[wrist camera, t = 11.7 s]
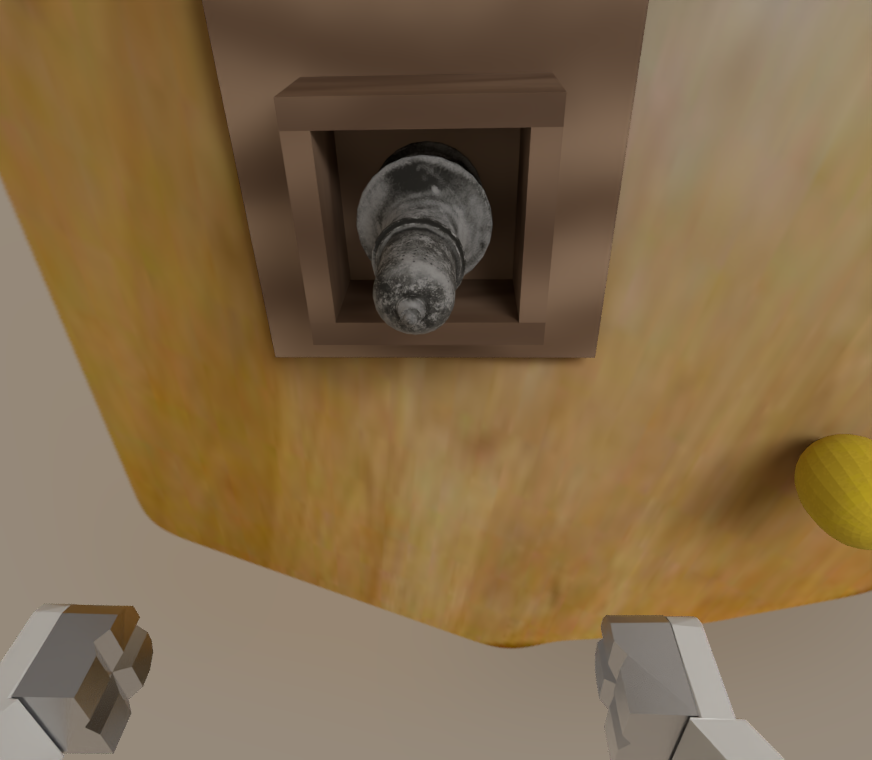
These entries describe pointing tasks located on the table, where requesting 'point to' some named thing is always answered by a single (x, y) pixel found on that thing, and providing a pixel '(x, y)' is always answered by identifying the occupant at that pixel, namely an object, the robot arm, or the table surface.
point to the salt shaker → (422, 233)
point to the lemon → (838, 487)
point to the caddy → (438, 122)
